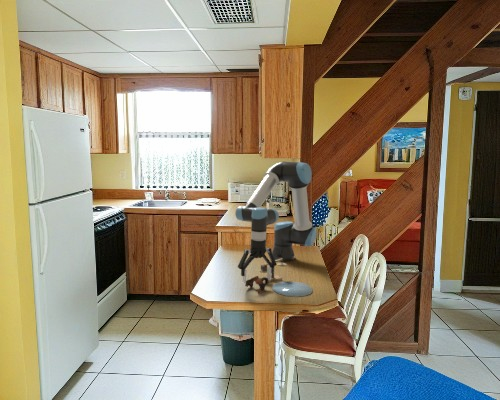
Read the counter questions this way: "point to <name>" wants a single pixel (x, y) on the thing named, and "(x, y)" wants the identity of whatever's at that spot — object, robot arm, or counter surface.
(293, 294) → the plate
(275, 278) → the balance
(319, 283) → the counter surface
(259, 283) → the pottery mug
